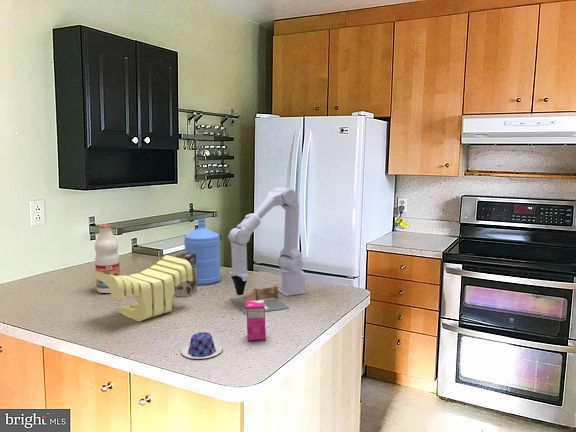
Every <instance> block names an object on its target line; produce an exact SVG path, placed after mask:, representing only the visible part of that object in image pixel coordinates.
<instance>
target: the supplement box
mask: <svg viewBox="0 0 576 432" xmlns="http://www.w3.org/2000/svg"><path fill="white" fill-rule="evenodd" d="M246 328H247V342H267V341H266V340H267V339H266V338H267V337H266V333H267V332H266V312H265V304H264V300H259V301H247V315H246Z"/></svg>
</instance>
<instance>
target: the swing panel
mask: <svg viewBox="0 0 576 432" xmlns="http://www.w3.org/2000/svg"><path fill="white" fill-rule="evenodd" d="M242 297H243V299H244V307H245V308H246V307H247V301H256V291H255V290H251V291H250V292H248V293H247V294H245V295H244V296H242Z"/></svg>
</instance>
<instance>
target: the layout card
mask: <svg viewBox="0 0 576 432" xmlns="http://www.w3.org/2000/svg"><path fill="white" fill-rule="evenodd" d="M243 297H244V296H240V297H233V298H230V301H231V302H232V303H233V304H234V305H235V306H236V307H237V308H238V309H239V310H240V311H241V312H242V313H243V314H244V315H245V316H247V307H246V308H245V307H244V299H243ZM260 300H264V304H265V313H266V312H267V313H269V312H274V311H275V312H276V311H283V310H289V309H290V307H289V306H288V305H286V304H285V303H284V302H282V301H281V300H280V299H279V298H278V299H277V298H267V299H260ZM258 301H259V294H258Z"/></svg>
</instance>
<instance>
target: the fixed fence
mask: <svg viewBox="0 0 576 432" xmlns="http://www.w3.org/2000/svg"><path fill="white" fill-rule="evenodd" d="M252 289H253V290H255V291H256V301H258V295H259V300H260V299H267V298H277V299H278V300H279V296H278V294H279V293H278V292H279V291H278V290H279V287H278V286H277V285H274V286H271V287H263V288H252ZM253 290H252V291H253Z"/></svg>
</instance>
